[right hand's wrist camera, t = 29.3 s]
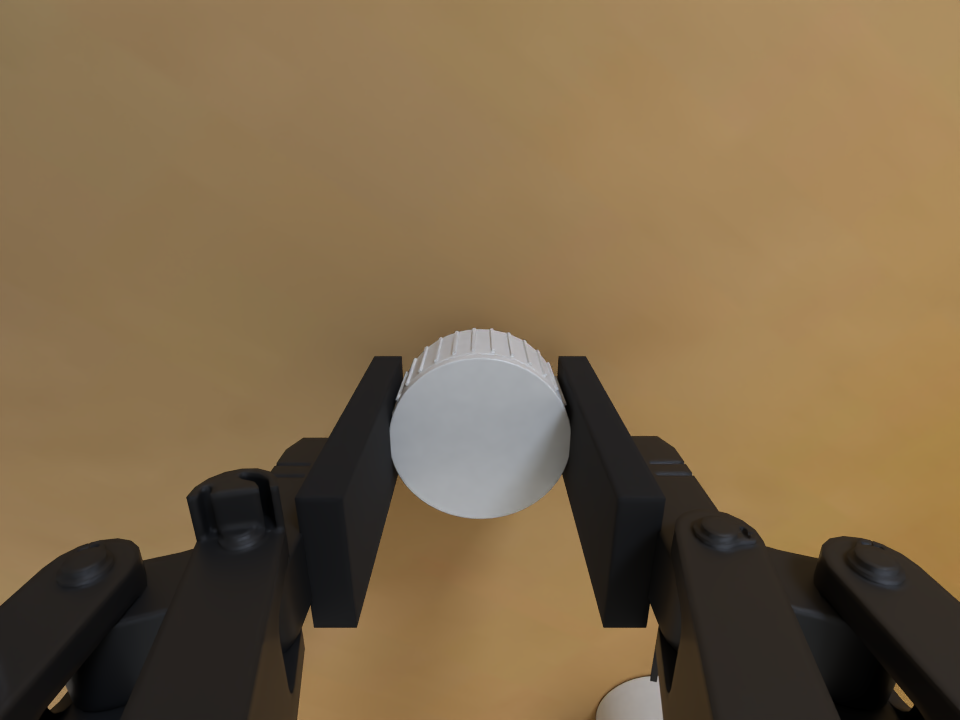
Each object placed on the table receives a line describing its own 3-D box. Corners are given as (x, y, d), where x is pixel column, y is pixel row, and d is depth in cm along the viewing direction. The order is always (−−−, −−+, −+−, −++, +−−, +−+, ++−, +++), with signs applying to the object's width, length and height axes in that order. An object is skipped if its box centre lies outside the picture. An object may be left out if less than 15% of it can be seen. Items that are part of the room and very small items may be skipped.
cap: (367, 404, 15) (348, 446, 12) (477, 291, 13) (477, 315, 11) (481, 497, 16) (482, 550, 13) (593, 400, 14) (612, 441, 12)
